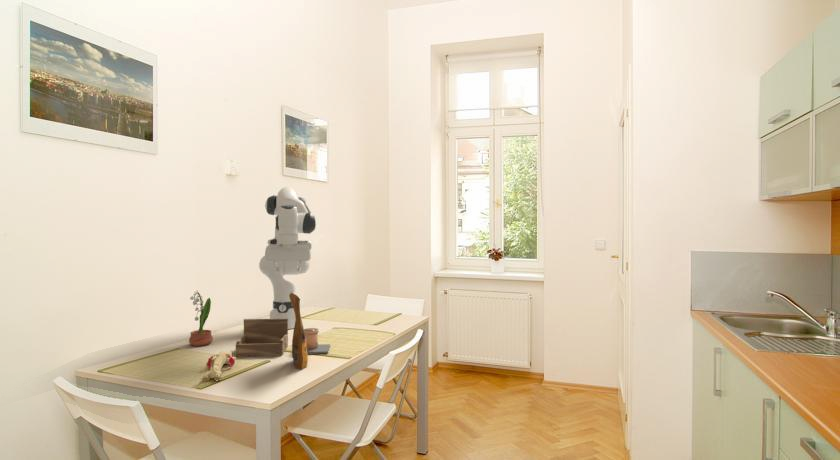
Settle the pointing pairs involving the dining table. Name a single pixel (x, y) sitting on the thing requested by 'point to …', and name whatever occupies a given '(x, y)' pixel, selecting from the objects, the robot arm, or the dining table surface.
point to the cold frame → (263, 338)
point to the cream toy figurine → (218, 364)
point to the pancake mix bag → (298, 336)
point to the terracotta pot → (311, 338)
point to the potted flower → (201, 324)
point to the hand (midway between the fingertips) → (288, 270)
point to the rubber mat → (320, 349)
